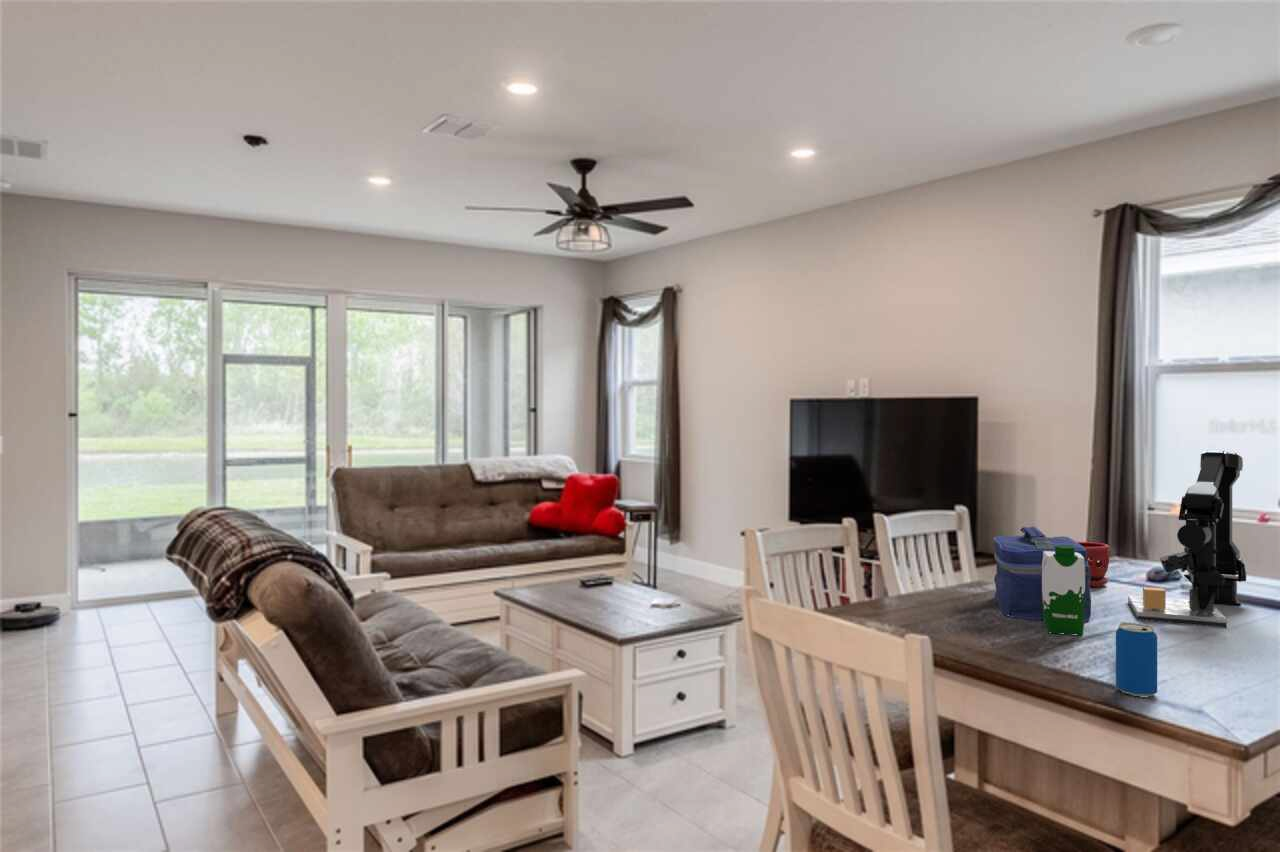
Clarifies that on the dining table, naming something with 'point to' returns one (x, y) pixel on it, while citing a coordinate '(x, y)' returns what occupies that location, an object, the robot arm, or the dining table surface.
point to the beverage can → (1136, 659)
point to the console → (1176, 613)
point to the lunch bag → (1028, 572)
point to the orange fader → (1154, 598)
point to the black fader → (1195, 603)
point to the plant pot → (1097, 568)
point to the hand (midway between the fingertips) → (1201, 607)
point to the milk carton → (1063, 590)
